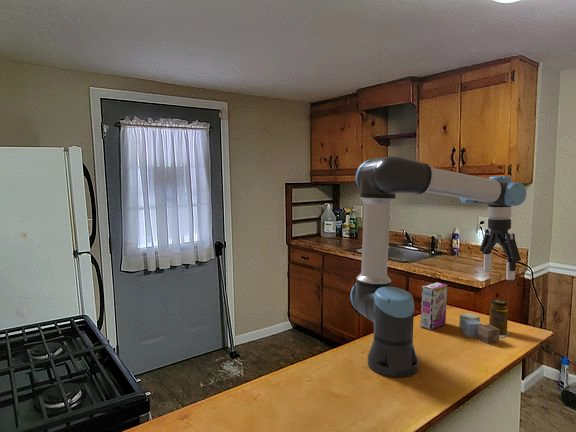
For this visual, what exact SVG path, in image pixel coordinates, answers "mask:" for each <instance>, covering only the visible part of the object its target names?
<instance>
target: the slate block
mask: <svg viewBox="0 0 576 432" xmlns="http://www.w3.org/2000/svg"><path fill="white" fill-rule="evenodd" d="M479 325H483V323H482V322H479V321H477V320H476V319H463V321H462V328H461V332H462V333H463V335H465V336H466V337H468V338H477V327H478V326H479Z"/></svg>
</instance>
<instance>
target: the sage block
mask: <svg viewBox="0 0 576 432" xmlns="http://www.w3.org/2000/svg"><path fill="white" fill-rule="evenodd" d="M463 319H476V320H477V321H479V322H480V319H481V318H480V316H478V315H476V314H472V313H469V312H468V313H463V314H459V323H458V324H459V326H458V327H459V328H460V329H462V321H463ZM480 323H481V322H480Z"/></svg>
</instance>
